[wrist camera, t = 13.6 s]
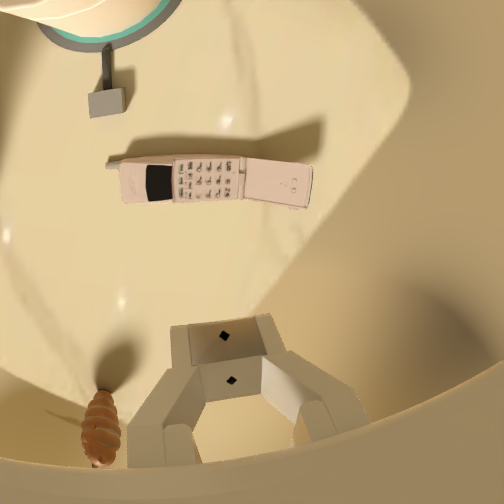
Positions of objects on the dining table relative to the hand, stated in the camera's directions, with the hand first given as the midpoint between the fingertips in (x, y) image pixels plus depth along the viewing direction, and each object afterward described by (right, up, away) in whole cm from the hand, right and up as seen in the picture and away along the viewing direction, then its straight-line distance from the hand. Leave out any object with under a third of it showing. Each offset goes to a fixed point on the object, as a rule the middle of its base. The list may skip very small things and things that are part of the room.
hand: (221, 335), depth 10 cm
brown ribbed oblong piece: (-30, -26, +48) cm, 62 cm away
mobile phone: (-5, +13, +31) cm, 34 cm away
